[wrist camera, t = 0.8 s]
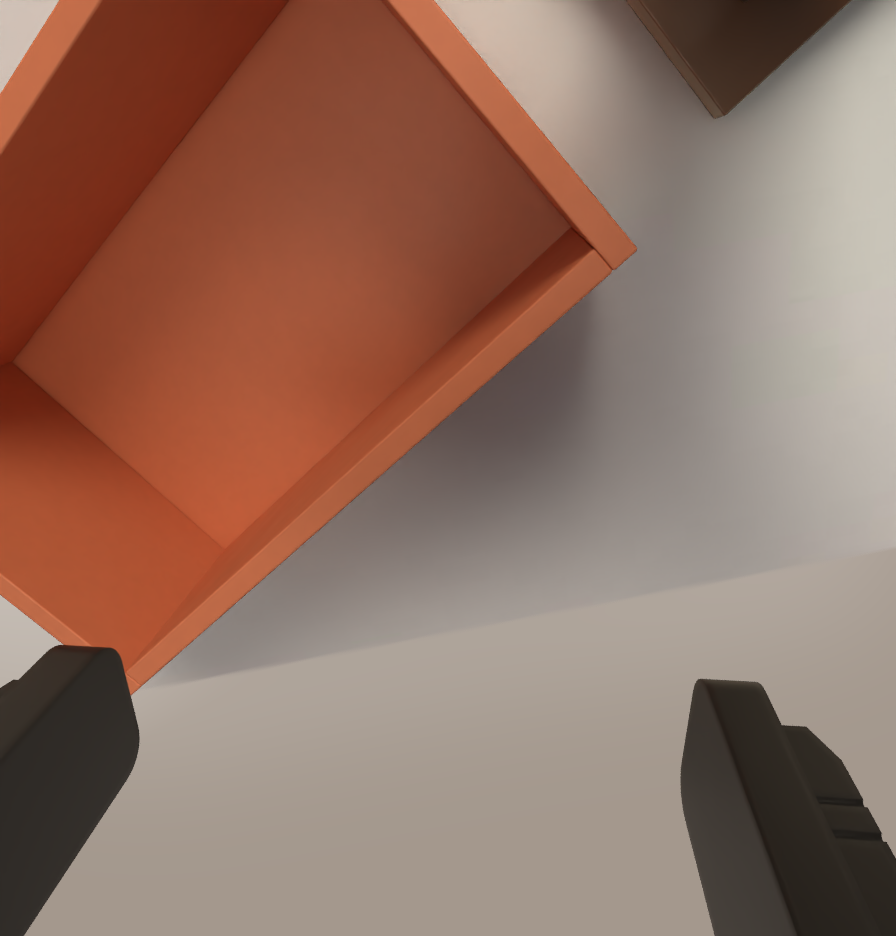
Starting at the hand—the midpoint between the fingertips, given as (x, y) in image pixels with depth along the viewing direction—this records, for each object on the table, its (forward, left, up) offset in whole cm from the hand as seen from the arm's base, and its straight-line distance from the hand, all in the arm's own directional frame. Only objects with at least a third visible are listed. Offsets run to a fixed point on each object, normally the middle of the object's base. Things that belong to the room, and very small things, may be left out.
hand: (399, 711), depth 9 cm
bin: (+5, +6, -18) cm, 19 cm away
